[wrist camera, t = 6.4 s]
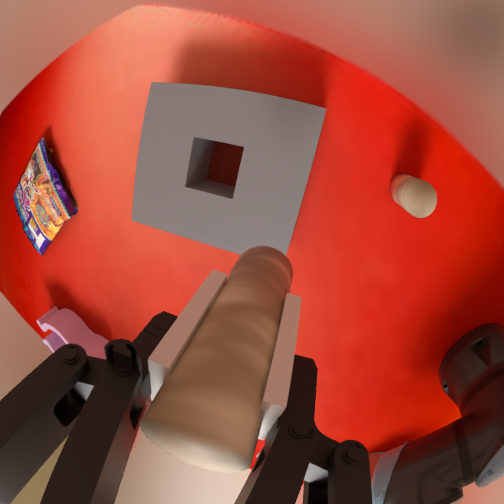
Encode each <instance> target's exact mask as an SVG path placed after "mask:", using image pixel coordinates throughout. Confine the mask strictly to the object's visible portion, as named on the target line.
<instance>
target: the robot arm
mask: <svg viewBox="0 0 504 504" xmlns="http://www.w3.org/2000/svg"><path fill="white" fill-rule="evenodd" d="M226 278H227V274H226V273H223V272H219V271H216V270H212V272H211V273H210V274H209V276H208V277H207V278H206V280H205V281H204V282H203V284H202V285H201V286H200V288H199V289H198V291H197V292H196V293H195V295H194V296H193V297H192V299H191V300H190V301H189V303H188V304H187V306H186V307H185V308H184V310H183V311H182V312H181V314H180V315H179V316H178V317H177V316H175V315H172V314H170V313H167V312H165V311H163V312H161V313H159V314H157V315H156V316H154V317H153V318H152V319H151V321H150V322H149V323H148V325H146V327H145V328H144V329H143V331H141V333H140V334H139V335H138V336H137V338H136V339H135V340H134V341H133V342H131V341H129V340H124V339H117V340H113V341H111V342H108V343H107V344H106V345H105V346H104V350H105V355H106V359H101V358H96V357H92V356H88V355H87V354H86V351H85V349H84V348H83V347H82V346H80V345H78V344H72V343H70V344H65V345H63V346H61V347H60V348H58V349H57V350H56V351H55V352H54V353H53V354H51V355H50V356H49V357H48V358H47V359H46V360H45V361H43V363H41V364H40V365H39V366H38V367H37V368H36V369H34V370H33V371H32V372H31V373H30V374H29V375H28V376H27V377H25V378H24V379H23V380H22V381H21V382H20V383H19V384H18V385H17V386H16V387H14V388H13V389H12V390H11V391H10V392H9V393H8V394H7V395H6V396H5V397H4V398H3V399H2V400H1V401H0V504H10V503H11V502H12V501H13V499H14V498H15V497H16V496H17V495H18V493H19V492H20V491H21V490H22V489H23V487H24V486H25V485H26V484H27V483H28V481H29V480H30V479H31V478H32V477H33V475H34V474H35V473H36V472H37V471H38V470H39V468H40V467H41V466H42V465H43V464H44V463H45V461H46V460H47V459H48V458H49V457H50V455H52V453H53V452H54V451H55V450H56V449H57V448H58V446H59V445H60V444H61V443H62V442H63V441H64V440H65V438H66V437H67V436H68V435H69V437H68V438H67V440H66V443H65V445H64V447H63V449H62V451H61V454H60V456H59V458H58V460H57V463H56V465H55V467H54V470H53V472H52V474H51V477H50V479H49V482H48V484H47V487H46V489H45V492H44V495H43V497H42V500H41V503H40V504H114V502H115V499H116V496H117V492H118V489H119V486H120V483H121V480H122V477H123V473H124V470H125V467H126V464H127V461H128V458H129V455H130V452H131V450H132V447H133V444H134V441H135V438H136V435H137V432H138V430H139V427H140V421H141V419H142V417H143V416H144V413H145V410H146V401H147V399H148V398H149V396H150V395H151V401H153V399H154V397H155V396H156V394H157V392H158V391H159V389H160V387H161V386H162V384H163V382H164V381H165V379H166V378H168V377H169V375H170V374H171V372H172V370H173V368H174V367H175V365H176V363H177V362H178V360H179V358H180V357H181V355H182V353H183V352H184V350H185V348H186V347H187V345H188V343H189V342H190V340H191V338H192V337H193V335H194V333H195V332H196V330H197V328H198V327H199V325H200V323H201V322H202V320H203V319H204V317H205V315H206V314H207V312H208V310H209V309H210V307H211V305H212V304H213V302H214V300H215V299H216V297H217V295H218V294H219V292H220V290H221V289H222V287H223V285H224V284H225V282H226ZM301 298H302V297H300V296H297V295H293V294H290V293H287V294H286V297H285V301H284V306H283V310H282V315H281V320H280V324H279V329H278V334H277V338H276V342H275V347H274V351H273V356H272V360H271V364H270V368H269V373H268V377H267V381H266V385H265V389H264V393H263V397H262V401H261V405H260V407H261V409H262V412H263V421H262V425H261V429H260V433H259V437H258V439H261V440H264V439H265V438H266V441H265V446H264V448H263V449H262V450H261V451H260V453H259V454H258V455H257V456H256V457H257V460H256V462H255V464H254V466H253V469H252V471H251V473H250V475H249V477H248V479H247V481H246V483H245V485H244V487H243V488H242V490H241V492H240V494H239V496H238V498H237V500H236V502H235V503H234V504H295V502H296V500H297V497H298V494H299V492H300V489H301V486H302V483H303V481H304V493H303V504H459V503H460V502H461V500H462V499H463V490H462V488H463V487H465V486H467V485H469V484H471V483H473V482H475V483H476V485H477V486H478V487H483V486H486V485H488V484H489V483H491V482H493V481H495V480H497V479H498V478H500V477H501V476H503V475H504V328H503V327H502V326H501V325H498V324H487V325H484V326H481V327H479V328H477V329H475V330H473V331H471V332H470V333H468V334H467V335H465V336H464V337H463V338H462V339H461V340H459V341H458V342H457V343H456V344H455V345H454V346H453V347H452V348H451V350H450V351H449V352H448V354H447V355H446V356H445V358H444V360H443V362H442V364H441V366H440V369H439V380H440V383H441V386H442V389H443V390H444V392H445V393H446V394H447V395H448V396H449V397H450V399H451V400H452V401H453V402H454V403H455V404H456V405H457V406H458V408H459V409H460V412H461V416H462V417H461V418H460V419H458V420H456V421H454V422H452V423H450V424H448V425H446V426H444V427H442V428H440V429H438V430H436V431H434V432H432V433H430V434H428V435H425V436H423V437H421V438H418V439H416V440H413V441H411V442H410V441H408V442H405V443H404V444H403V445H401V446H398V447H396V448H394V449H391V450H389V451H387V452H385V453H384V454H383V455H382V456H381V457H380V459H379V460H378V462H377V465H376V467H375V470H374V473H373V478H372V485H371V473H370V462H369V454H368V451H367V449H366V448H365V446H364V445H363V444H361V443H360V442H358V441H354V440H346V441H343V442H342V443H339V442H337V441H335V440H333V439H331V438H328V437H327V436H325V435H323V434H322V433H321V432H320V431H319V430H318V428H317V427H316V425H315V422H314V412H315V399H316V385H317V381H316V380H317V367H316V365H315V362H314V360H313V359H310V358H306V357H303V356H299V355H295V347H296V340H297V332H298V324H299V316H300V307H301ZM266 436H267V437H266Z"/></svg>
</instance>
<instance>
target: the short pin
mask: <svg viewBox="0 0 504 504" xmlns="http://www.w3.org/2000/svg"><path fill="white" fill-rule="evenodd" d="M389 192H390V195H391V197H392V199H393V200H394V201H395V202H396V203H398V204H399V205H400V206H401V207H403V208H404V209H405V210H406V211H408V212H409V213H410V214H411V215H413V216H415V217H418V218H423V217H426V216H428V215H430V214H431V213H432V212H433V210H434V209H435V206H436V203H437V195H436V192H435V189H434V188H433V186H432V185H431V184H429V183H428V182H426V181H423V180H421V179H418V178H415V177H413V176H410V175H407V174H399V175H397V176H395V177H394V178H393V179H392V180H391V183H390V186H389Z"/></svg>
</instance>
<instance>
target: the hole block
mask: <svg viewBox="0 0 504 504" xmlns="http://www.w3.org/2000/svg"><path fill="white" fill-rule="evenodd" d="M325 113H326V108H323V107H319V106H315V105H312V104H308V103H304V102H300V101H296V100H291V99H287V98H282V97H278V96H273V95H268V94H263V93H257V92H251V91H245V90H239V89H232V88H224V87H216V86H207V85H196V84H182V83H159V82H152V83H151V87H150V91H149V96H148V101H147V105H146V110H145V116H144V121H143V127H142V133H141V139H140V145H139V152H138V160H137V168H136V176H135V186H134V197H133V210H132V221H135V222H138V223H141V224H144V225H148V226H151V227H154V228H157V229H160V230H163V231H166V232H170V233H173V234H176V235H179V236H182V237H185V238H189V239H192V240H195V241H198V242H201V243H205V244H208V245H211V246H214V247H217V248H221V249H224V250H227V251H230V252H233V253H237V254H240V255H242V254H243V253H244V252H245V251H246V250H248V249H250V248H252V247H256V246H269V247H272V248H275V249H277V250H279V251H280V252H282V253H283V254H284V255H285V256H286V254H287V250H288V247H289V244H290V240H291V237H292V234H293V230H294V227H295V223H296V220H297V217H298V213H299V210H300V206H301V203H302V199H303V196H304V192H305V189H306V185H307V181H308V178H309V174H310V170H311V167H312V163H313V159H314V156H315V152H316V148H317V144H318V140H319V137H320V133H321V129H322V125H323V121H324V117H325ZM215 141H218V142H223V143H228V144H233V145H238V146H242V147H244V150H243V154H242V159H241V163H240V168H239V172H238V177H237V181H236V186H232V185H228V184H224V183H220V182H216V181H212V180H208V179H207V177H208V172H209V167H210V162H211V157H212V152H213V147H214V142H215Z"/></svg>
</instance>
